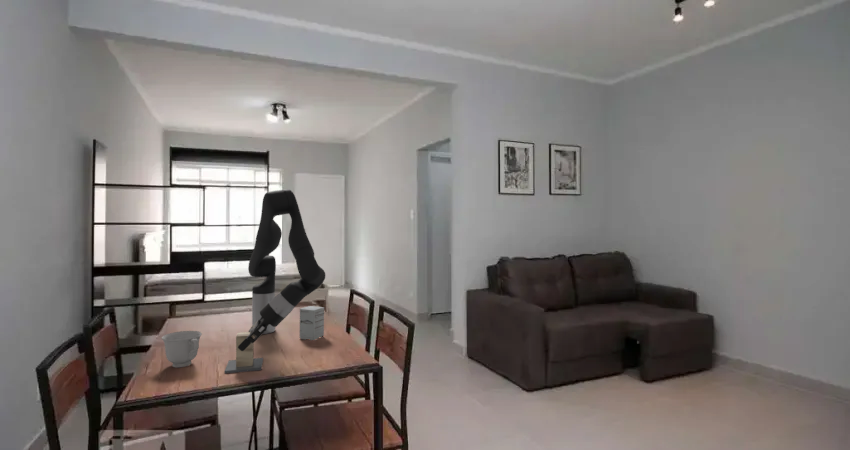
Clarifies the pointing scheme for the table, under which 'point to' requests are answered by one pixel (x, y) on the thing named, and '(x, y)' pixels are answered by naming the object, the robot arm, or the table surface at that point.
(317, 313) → the supplement box
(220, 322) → the table surface
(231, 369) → the slate coaster
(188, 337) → the teacup
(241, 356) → the beech block
